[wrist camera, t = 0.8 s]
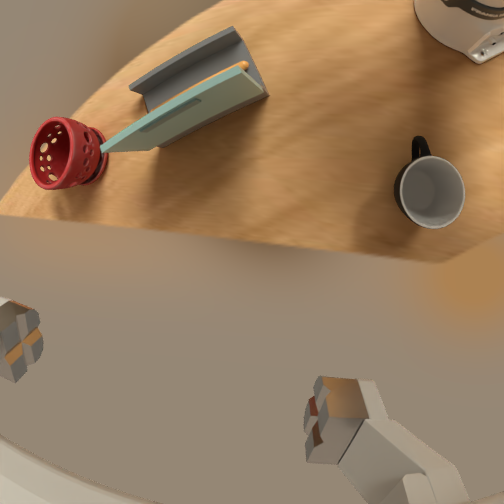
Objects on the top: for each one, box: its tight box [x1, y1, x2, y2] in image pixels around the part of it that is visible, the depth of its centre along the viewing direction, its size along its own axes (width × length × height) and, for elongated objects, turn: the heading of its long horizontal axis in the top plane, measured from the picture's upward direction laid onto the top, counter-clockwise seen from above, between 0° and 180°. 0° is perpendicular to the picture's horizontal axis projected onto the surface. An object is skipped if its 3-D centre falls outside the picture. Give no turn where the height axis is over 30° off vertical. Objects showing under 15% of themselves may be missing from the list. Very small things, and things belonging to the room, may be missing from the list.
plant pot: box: [29, 117, 108, 190], centre depth 52 cm, size 13×13×12 cm
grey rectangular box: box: [129, 26, 269, 147], centre depth 47 cm, size 20×12×5 cm, turn 112°
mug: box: [394, 136, 465, 229], centre depth 39 cm, size 12×9×10 cm
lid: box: [100, 65, 264, 153], centre depth 39 cm, size 20×12×1 cm
